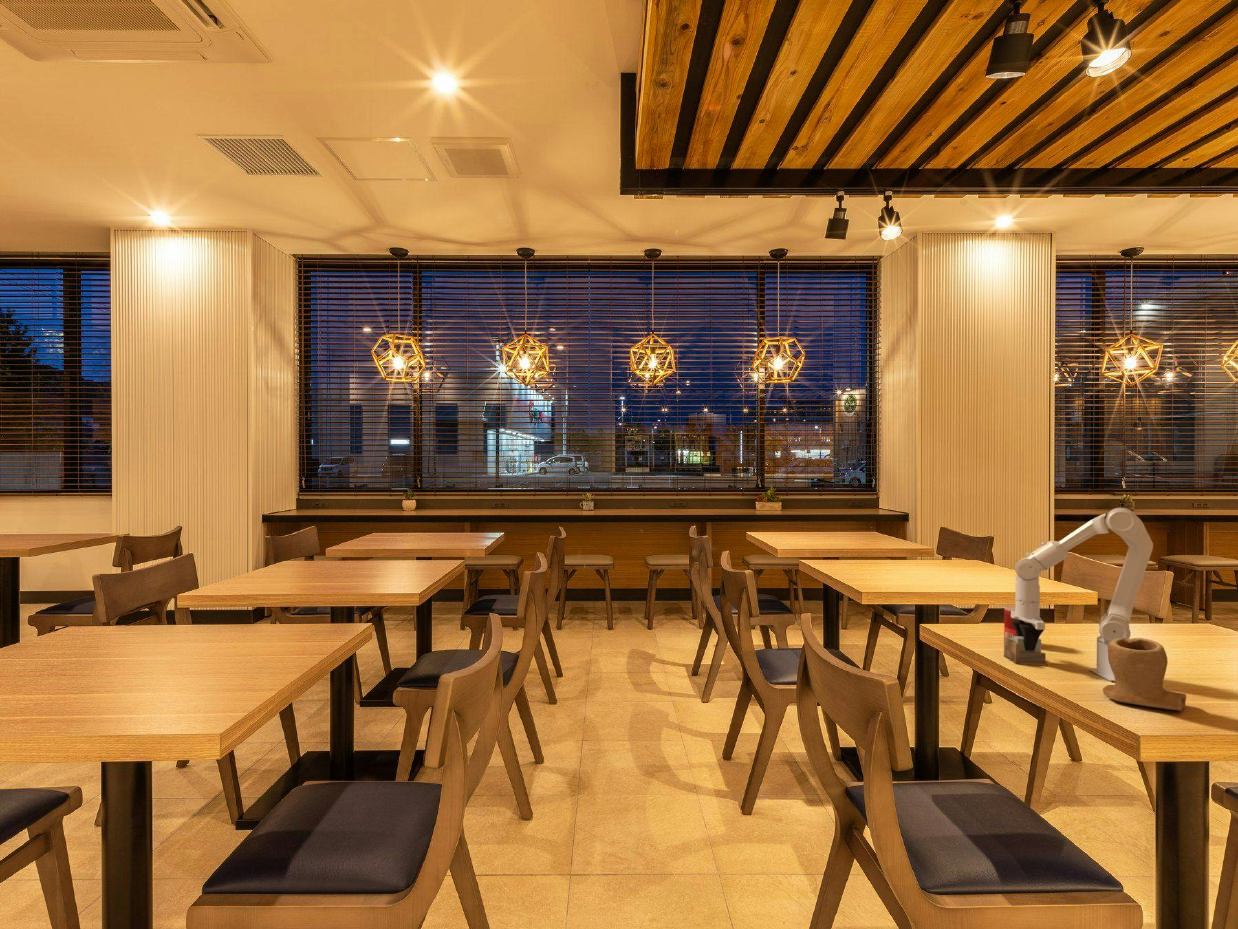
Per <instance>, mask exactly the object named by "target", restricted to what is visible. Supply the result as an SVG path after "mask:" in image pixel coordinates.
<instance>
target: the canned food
mask: <svg viewBox="0 0 1238 929" xmlns="http://www.w3.org/2000/svg"><path fill="white" fill-rule="evenodd" d="M1011 610H1015V605H1005V606H1004V609H1003V612H1004V613H1003V619H1004V620H1003V638H1004V637H1008V638H1010V639H1012V640H1013V636H1017V634H1016V631H1015V629H1014V627H1013V625H1012V623H1011V621H1016V620H1017V619H1014V618H1012V617H1011Z"/></svg>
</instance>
